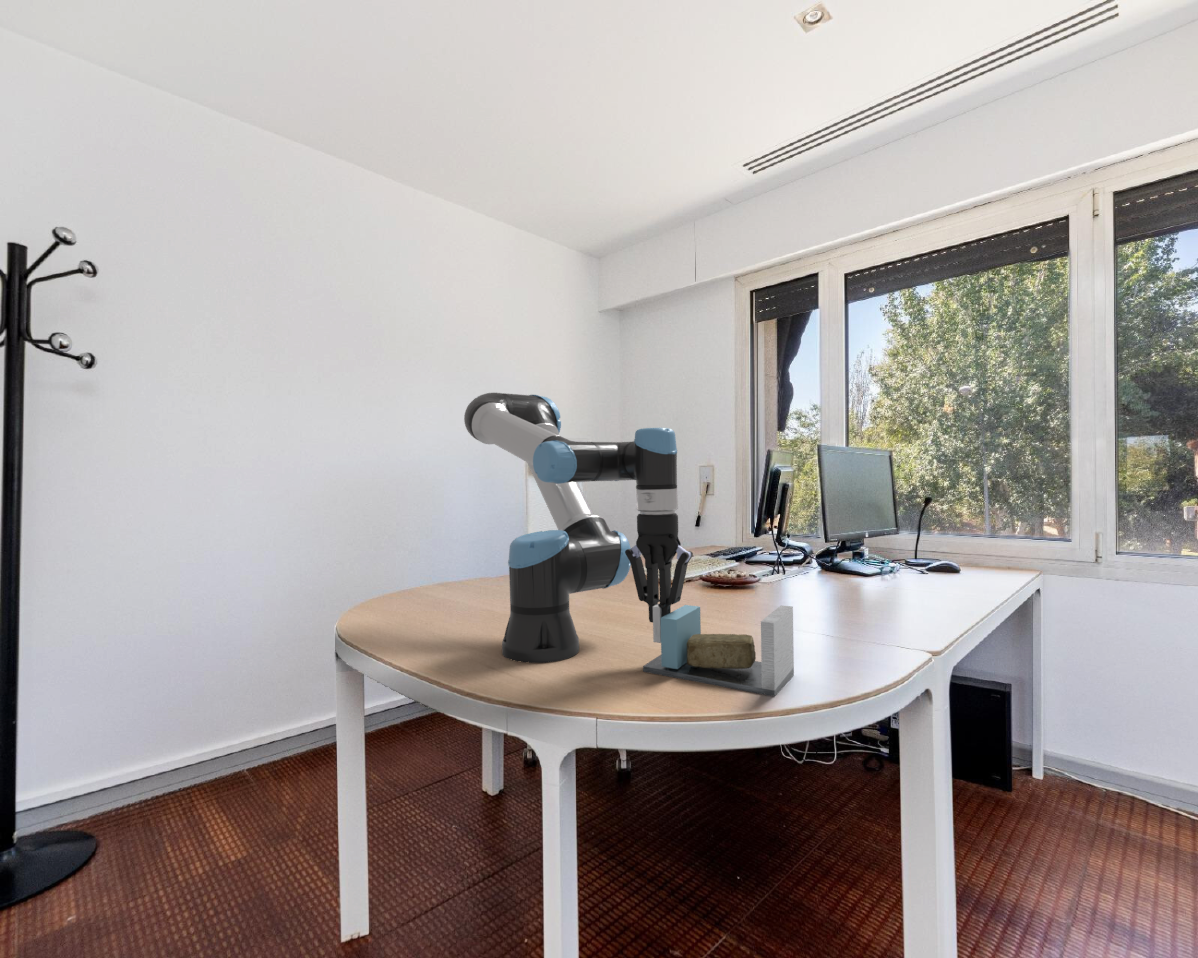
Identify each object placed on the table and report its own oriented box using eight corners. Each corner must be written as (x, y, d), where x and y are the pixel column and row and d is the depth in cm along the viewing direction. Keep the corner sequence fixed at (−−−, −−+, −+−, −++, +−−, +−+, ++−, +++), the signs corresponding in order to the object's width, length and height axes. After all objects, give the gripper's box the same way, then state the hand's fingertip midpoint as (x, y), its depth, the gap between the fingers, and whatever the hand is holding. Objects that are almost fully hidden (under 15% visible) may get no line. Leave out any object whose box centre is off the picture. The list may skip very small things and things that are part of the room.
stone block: (754, 671, 95) (751, 641, 95) (685, 670, 99) (682, 641, 99) (757, 660, 100) (754, 631, 100) (691, 659, 104) (689, 631, 104)
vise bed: (642, 674, 102) (641, 606, 101) (671, 655, 112) (670, 593, 112) (774, 700, 89) (773, 623, 89) (793, 675, 100) (792, 606, 99)
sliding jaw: (661, 666, 100) (660, 617, 100) (686, 649, 109) (685, 604, 109) (677, 669, 99) (676, 619, 99) (701, 651, 108) (700, 606, 108)
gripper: (616, 513, 106) (619, 641, 107) (681, 514, 99) (684, 651, 100) (636, 510, 113) (638, 631, 113) (698, 511, 106) (701, 640, 106)
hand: (660, 640), depth 106 cm, fingers closed
